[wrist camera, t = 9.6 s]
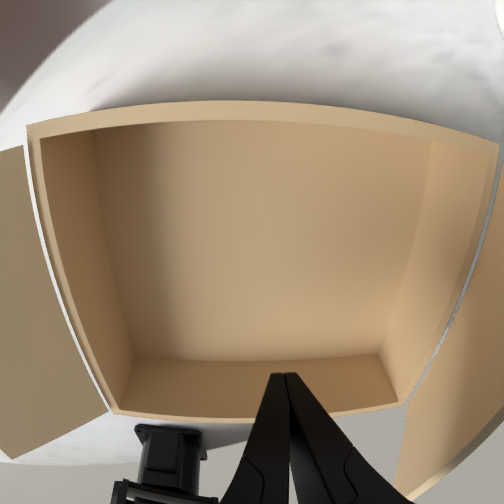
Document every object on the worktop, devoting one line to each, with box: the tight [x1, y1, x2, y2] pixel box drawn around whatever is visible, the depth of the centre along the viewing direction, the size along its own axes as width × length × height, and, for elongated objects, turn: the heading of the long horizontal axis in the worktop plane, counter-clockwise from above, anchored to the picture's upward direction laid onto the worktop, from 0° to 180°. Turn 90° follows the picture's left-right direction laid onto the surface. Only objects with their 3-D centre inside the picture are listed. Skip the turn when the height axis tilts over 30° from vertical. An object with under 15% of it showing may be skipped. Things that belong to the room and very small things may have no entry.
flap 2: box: [393, 162, 504, 501], centre depth 9 cm, size 15×8×1 cm
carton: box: [26, 100, 500, 423], centre depth 14 cm, size 16×18×5 cm
